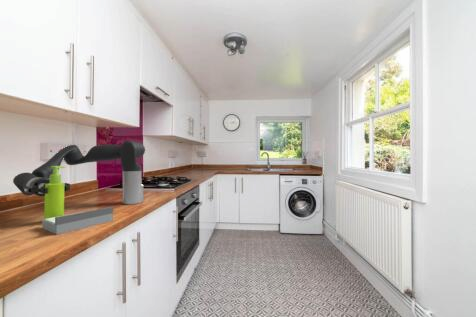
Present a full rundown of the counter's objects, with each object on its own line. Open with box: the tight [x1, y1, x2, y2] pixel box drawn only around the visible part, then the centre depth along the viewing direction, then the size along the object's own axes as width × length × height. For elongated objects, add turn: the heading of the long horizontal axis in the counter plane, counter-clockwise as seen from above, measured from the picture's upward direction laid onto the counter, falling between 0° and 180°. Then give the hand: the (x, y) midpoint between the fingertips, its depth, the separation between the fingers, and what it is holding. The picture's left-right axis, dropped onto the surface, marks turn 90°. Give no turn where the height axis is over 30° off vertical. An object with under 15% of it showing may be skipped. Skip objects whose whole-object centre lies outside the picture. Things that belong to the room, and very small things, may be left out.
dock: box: [41, 206, 114, 236], centre depth 82 cm, size 18×12×5 cm, turn 148°
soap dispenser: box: [43, 165, 66, 220], centre depth 86 cm, size 6×7×20 cm
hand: (56, 189), depth 85 cm, fingers closed on soap dispenser, 6 cm apart
